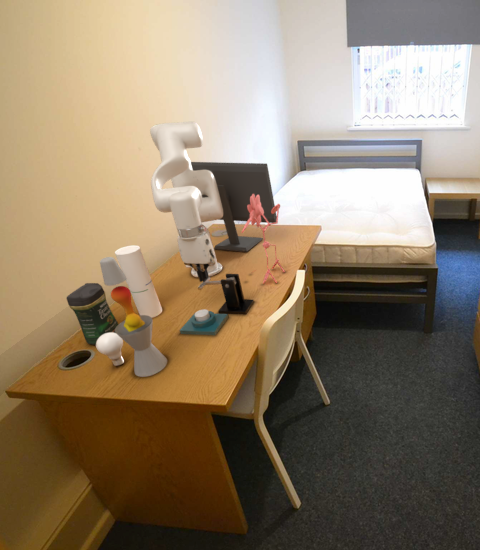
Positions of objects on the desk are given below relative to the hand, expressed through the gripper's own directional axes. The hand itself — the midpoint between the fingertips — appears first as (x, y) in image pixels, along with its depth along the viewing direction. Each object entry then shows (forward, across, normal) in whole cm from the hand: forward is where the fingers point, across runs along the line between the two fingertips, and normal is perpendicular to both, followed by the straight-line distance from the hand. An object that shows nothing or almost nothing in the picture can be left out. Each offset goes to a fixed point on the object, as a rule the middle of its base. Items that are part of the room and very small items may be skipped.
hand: (204, 279), depth 127 cm
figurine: (+12, -12, -24) cm, 29 cm away
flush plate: (+12, -3, +11) cm, 16 cm away
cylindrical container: (+12, +21, +5) cm, 24 cm away
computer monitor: (+11, +13, -55) cm, 58 cm away
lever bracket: (+12, -9, 0) cm, 15 cm away
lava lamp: (+12, +4, +31) cm, 33 cm away
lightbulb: (+12, +14, +31) cm, 36 cm away
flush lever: (+2, -5, 0) cm, 5 cm away
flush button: (+9, -3, +11) cm, 14 cm away
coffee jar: (+12, +28, +19) cm, 35 cm away
